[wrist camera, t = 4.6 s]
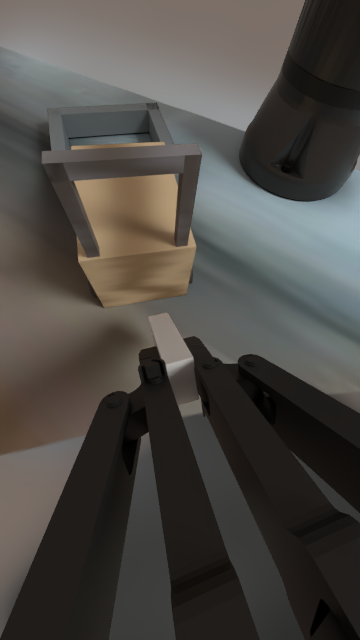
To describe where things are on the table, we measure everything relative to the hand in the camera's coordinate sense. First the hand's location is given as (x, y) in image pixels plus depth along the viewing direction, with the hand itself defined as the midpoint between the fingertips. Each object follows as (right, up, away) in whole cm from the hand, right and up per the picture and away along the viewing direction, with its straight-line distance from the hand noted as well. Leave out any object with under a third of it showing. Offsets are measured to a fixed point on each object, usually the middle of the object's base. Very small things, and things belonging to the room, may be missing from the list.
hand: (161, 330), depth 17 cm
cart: (-3, +8, +7) cm, 11 cm away
